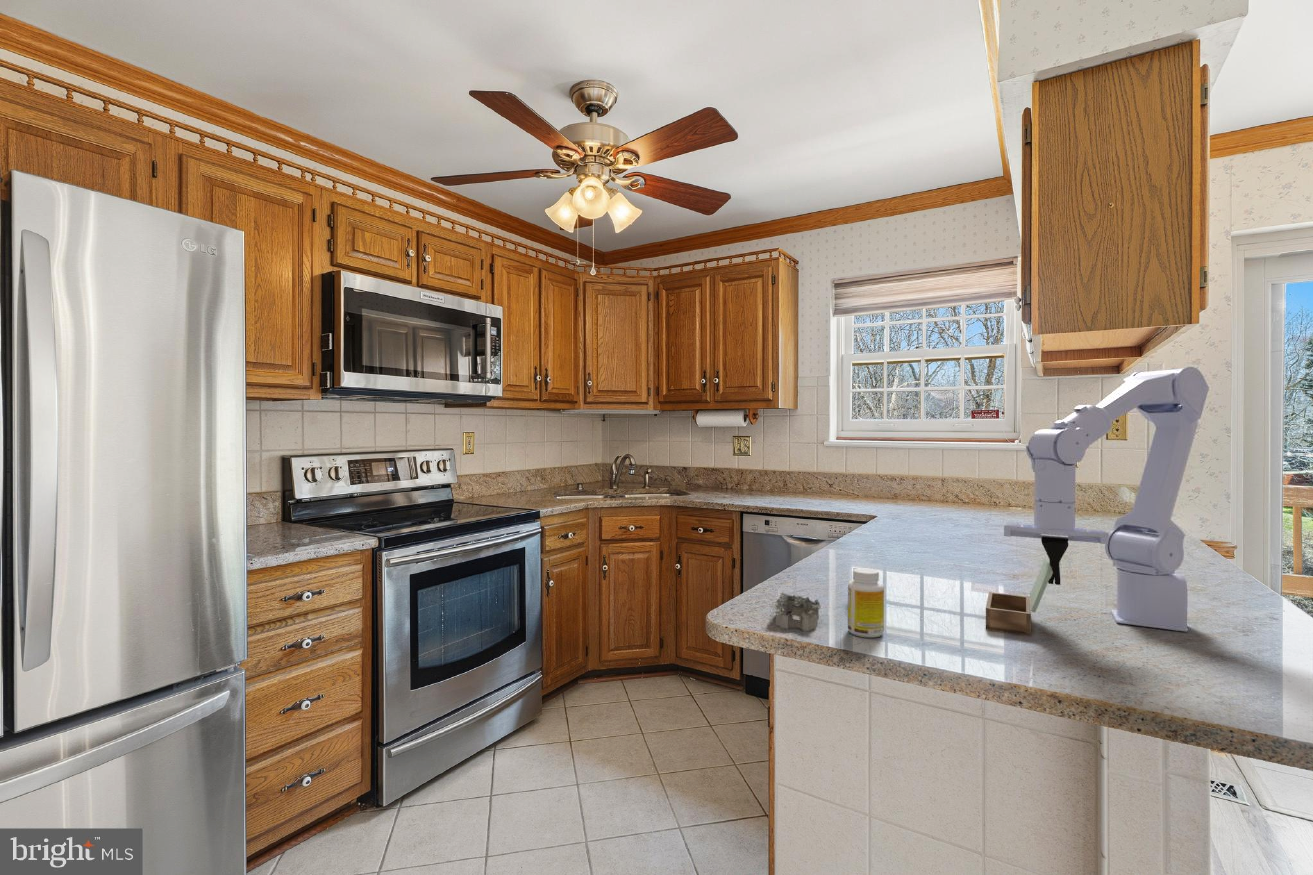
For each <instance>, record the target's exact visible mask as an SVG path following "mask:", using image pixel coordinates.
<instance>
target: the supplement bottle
mask: <svg viewBox="0 0 1313 875" xmlns="http://www.w3.org/2000/svg"><path fill="white" fill-rule="evenodd" d="M852 570H853V569H852ZM879 575H880V574H879V571H878V570H877V569H874V568H866V567H864V568H863V567H858V568H857V569H854V570H853V571H852V580H850V581H849V582H848V584H847V629H848V631H849V633H850V634H852V635H854V636H856V637H861V638H871V639H872V638H873V639H875V638H878V637H881V636H882V635H883V634H884V630H885V624H884V622H885V619H884V616H885V614H884V613H885V612H884V611H885V608H884V606H885V604H884V602H885V593H884V592H885V588H884V585H883V583H881V582H879V581H880V576H879Z"/></svg>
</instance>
